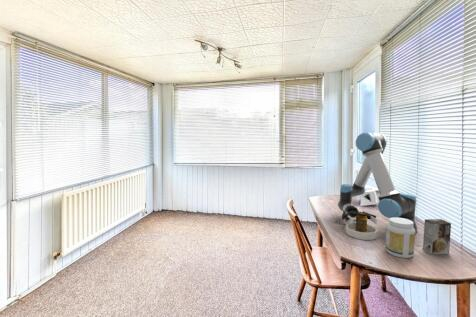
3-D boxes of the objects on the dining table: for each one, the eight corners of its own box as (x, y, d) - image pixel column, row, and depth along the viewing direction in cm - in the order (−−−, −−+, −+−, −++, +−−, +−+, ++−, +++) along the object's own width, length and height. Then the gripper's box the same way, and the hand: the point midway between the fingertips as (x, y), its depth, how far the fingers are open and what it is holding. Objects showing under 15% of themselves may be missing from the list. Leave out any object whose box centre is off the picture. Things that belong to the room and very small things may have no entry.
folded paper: (362, 186, 207) (385, 189, 202) (357, 181, 230) (378, 184, 225) (359, 206, 209) (382, 210, 204) (355, 199, 232) (375, 202, 227)
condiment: (369, 233, 150) (370, 213, 149) (361, 236, 146) (362, 216, 144) (358, 229, 156) (359, 210, 155) (349, 232, 152) (350, 212, 151)
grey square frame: (363, 222, 172) (363, 221, 172) (356, 227, 162) (356, 227, 162) (342, 217, 181) (342, 217, 181) (334, 222, 171) (334, 221, 171)
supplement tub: (403, 247, 133) (406, 216, 131) (419, 259, 121) (422, 225, 119) (380, 247, 133) (382, 216, 132) (393, 258, 121) (395, 224, 120)
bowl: (381, 234, 151) (381, 227, 151) (372, 242, 139) (372, 235, 139) (351, 226, 163) (352, 220, 163) (341, 234, 151) (341, 227, 150)
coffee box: (438, 248, 132) (441, 218, 131) (449, 254, 126) (452, 223, 124) (421, 248, 132) (424, 218, 130) (431, 254, 126) (434, 223, 124)
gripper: (369, 216, 167) (386, 228, 146) (331, 215, 169) (342, 227, 148) (370, 205, 167) (386, 215, 146) (331, 204, 168) (342, 214, 147)
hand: (364, 221), depth 147 cm, fingers open, 13 cm apart
